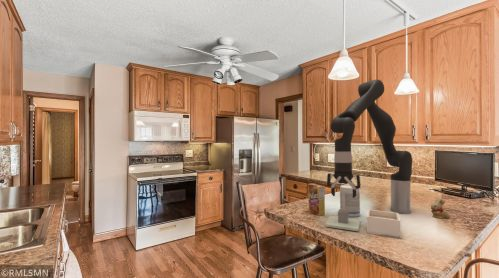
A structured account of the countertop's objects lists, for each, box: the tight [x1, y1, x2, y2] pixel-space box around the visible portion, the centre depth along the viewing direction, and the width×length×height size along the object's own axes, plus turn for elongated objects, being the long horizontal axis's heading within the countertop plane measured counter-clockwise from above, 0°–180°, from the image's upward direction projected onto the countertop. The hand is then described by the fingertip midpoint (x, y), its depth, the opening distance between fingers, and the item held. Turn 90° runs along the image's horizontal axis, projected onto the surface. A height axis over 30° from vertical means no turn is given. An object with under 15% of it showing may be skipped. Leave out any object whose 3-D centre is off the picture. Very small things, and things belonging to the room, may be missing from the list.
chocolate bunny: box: [430, 197, 451, 220], centre depth 124 cm, size 6×8×10 cm
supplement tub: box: [339, 184, 361, 218], centre depth 129 cm, size 10×10×15 cm
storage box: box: [366, 209, 402, 239], centre depth 105 cm, size 12×12×7 cm
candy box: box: [307, 183, 326, 217], centre depth 131 cm, size 9×4×15 cm, turn 23°
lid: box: [324, 208, 361, 232], centre depth 113 cm, size 14×14×7 cm
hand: (343, 196), depth 113 cm, fingers open, 8 cm apart
